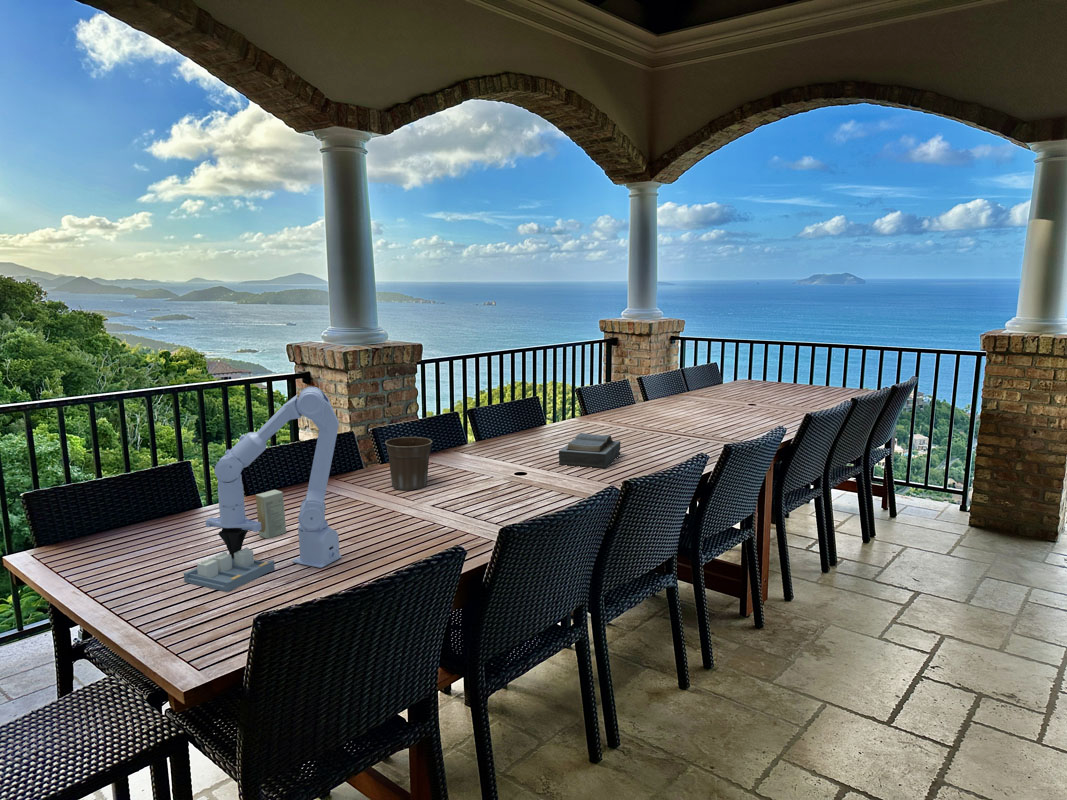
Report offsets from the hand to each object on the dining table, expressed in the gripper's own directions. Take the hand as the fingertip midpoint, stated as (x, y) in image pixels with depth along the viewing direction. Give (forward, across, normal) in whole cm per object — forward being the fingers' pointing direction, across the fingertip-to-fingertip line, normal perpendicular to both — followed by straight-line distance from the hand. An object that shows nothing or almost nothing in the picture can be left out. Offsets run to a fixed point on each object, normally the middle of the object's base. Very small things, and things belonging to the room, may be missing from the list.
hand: (235, 556), depth 174 cm
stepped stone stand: (+4, -66, -130) cm, 146 cm away
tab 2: (+2, +1, +4) cm, 5 cm away
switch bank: (+3, -2, +5) cm, 6 cm away
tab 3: (+2, -3, 0) cm, 3 cm away
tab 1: (+2, +1, +8) cm, 9 cm away
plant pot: (+3, -11, -78) cm, 79 cm away
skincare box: (+3, +6, -23) cm, 24 cm away
